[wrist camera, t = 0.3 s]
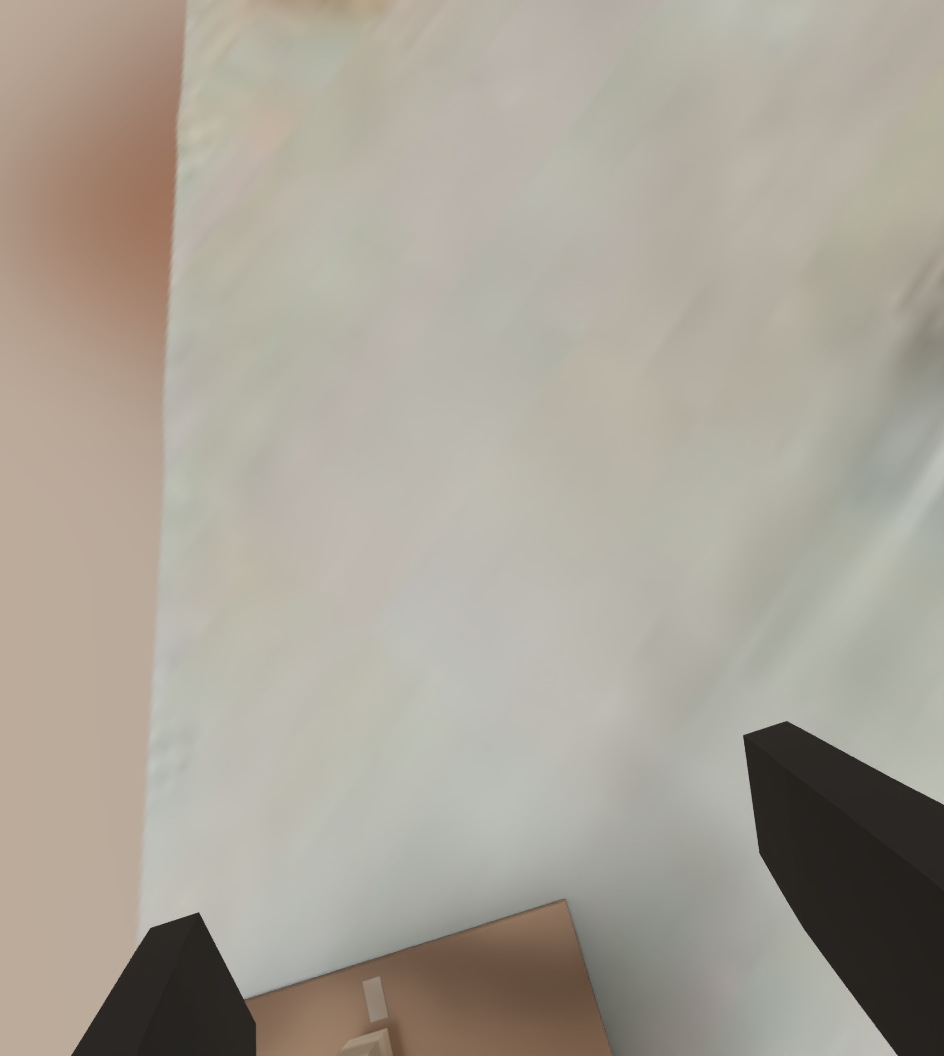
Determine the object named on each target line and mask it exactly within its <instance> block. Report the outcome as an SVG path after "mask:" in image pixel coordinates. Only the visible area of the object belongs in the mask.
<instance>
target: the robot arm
mask: <svg viewBox="0 0 944 1056" xmlns="http://www.w3.org/2000/svg"><path fill="white" fill-rule="evenodd" d="M743 738H744V745H745V752H746V759H747V767H748V774H749V781H750V788H751V795H752V802H753V810H754V817H755V824H756V831H757V838H758V846H759V853H760V855H761V857H762V859H763V860H764V862H765V864H766V866H767V867H768V869H769V871H770V872H771V874H772V876H773V878H774V879H775V881H776V883H777V885H778V886H779V888H780V890H781V892H782V893H783V895H784V897H785V898H786V900H787V902H788V903H789V905H790V907H791V908H792V910H793V912H794V913H795V915H796V917H797V918H798V920H799V922H800V923H801V925H802V927H803V928H804V930H805V931H806V932H807V934H808V935H809V936H810V938H811V939H812V941H813V942H814V943H815V945H816V946H817V948H818V949H819V950H820V952H821V953H822V954H823V956H824V957H825V958H826V960H827V961H828V962H829V964H830V965H831V967H832V968H833V969H834V971H835V972H836V973H837V975H838V976H839V977H840V979H841V980H842V981H843V983H844V984H845V986H846V987H847V988H848V990H849V991H850V992H851V994H852V995H853V996H854V998H855V999H856V1000H857V1002H858V1003H859V1004H860V1006H861V1007H862V1008H863V1010H864V1011H865V1012H866V1014H867V1015H868V1016H869V1018H870V1019H871V1020H872V1022H873V1023H874V1024H875V1026H876V1027H877V1028H878V1030H879V1031H880V1032H881V1034H882V1035H883V1036H884V1038H885V1039H886V1040H887V1042H888V1043H889V1044H890V1046H891V1047H892V1049H893V1050H894V1051H895V1053H896V1054H897V1055H898V1056H944V805H943V804H941V803H939V802H938V801H936V800H934V799H932V798H930V797H928V796H926V795H924V794H922V793H920V792H918V791H916V790H914V789H912V788H910V787H908V786H906V785H904V784H902V783H901V782H899V781H897V780H895V779H893V778H891V777H889V776H887V775H885V774H884V773H882V772H880V771H878V770H876V769H874V768H872V767H871V766H869V765H867V764H865V763H863V762H861V761H859V760H858V759H856V758H854V757H852V756H850V755H848V754H847V753H845V752H843V751H841V750H839V749H837V748H836V747H834V746H832V745H830V744H828V743H826V742H825V741H823V740H821V739H819V738H817V737H816V736H814V735H812V734H810V733H808V732H806V731H804V730H803V729H801V728H799V727H797V726H795V725H793V724H791V723H789V722H788V721H786V722H782V723H779V724H776V725H773V726H770V727H767V728H764V729H761V730H758V731H755V732H752V733H749V734H746V735H743ZM71 1056H256V1022H255V1021H254V1019H253V1017H252V1015H251V1013H250V1011H249V1009H248V1007H247V1005H246V1003H245V1001H244V999H243V997H242V995H241V993H240V991H239V989H238V987H237V986H236V984H235V982H234V980H233V978H232V976H231V974H230V972H229V970H228V968H227V966H226V964H225V962H224V960H223V958H222V956H221V954H220V952H219V950H218V949H217V947H216V945H215V943H214V941H213V939H212V937H211V935H210V933H209V931H208V929H207V927H206V925H205V923H204V921H203V919H202V917H201V915H200V914H199V912H198V913H195V914H192V915H189V916H186V917H183V918H180V919H177V920H174V921H171V922H168V923H165V924H162V925H158V926H155V927H152V928H150V930H149V931H148V933H147V934H146V936H145V937H144V939H143V940H142V942H141V944H140V945H139V947H138V948H137V950H136V951H135V953H134V955H133V956H132V958H131V959H130V961H129V963H128V964H127V966H126V968H125V969H124V971H123V973H122V974H121V976H120V977H119V979H118V981H117V983H116V984H115V986H114V987H113V989H112V990H111V992H110V994H109V995H108V997H107V999H106V1000H105V1002H104V1004H103V1005H102V1007H101V1009H100V1010H99V1012H98V1013H97V1015H96V1017H95V1018H94V1020H93V1021H92V1023H91V1025H90V1026H89V1028H88V1030H87V1031H86V1033H85V1034H84V1036H83V1038H82V1040H81V1041H80V1042H79V1044H78V1046H77V1047H76V1049H75V1051H74V1052H73V1054H72V1055H71Z"/></svg>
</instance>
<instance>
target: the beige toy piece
mask: <svg viewBox="0 0 944 1056" xmlns="http://www.w3.org/2000/svg"><path fill="white" fill-rule="evenodd" d="M336 1056H393V1052H392V1048H391V1043H390V1038H389V1033H388V1029H387V1028H385V1029H382V1030H379V1031H376V1032H372V1033H369V1034H366V1035H363V1036H360V1037H357V1038H354V1039H350V1040H349V1041H348V1042H347V1043H346V1044H345V1045H344V1047H343V1048H342V1049H341V1050H340V1051H339V1052H338V1054H337V1055H336Z"/></svg>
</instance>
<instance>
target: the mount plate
mask: <svg viewBox="0 0 944 1056" xmlns="http://www.w3.org/2000/svg"><path fill="white" fill-rule="evenodd" d="M244 1001H245V1003H246V1005H247V1007H248V1009H249V1011H250V1013H251V1015H252V1017H253V1019H254V1021H255V1022H256V1056H336V1055H337V1054H338V1052H339V1051H340V1050H341V1049H342V1048H343V1047H344V1045H345V1044H346V1043H347V1042H348V1041H349V1040H350V1039H354V1038H357V1037H360V1036H363V1035H366V1034H369V1033H372V1032H376V1031H379V1030H382V1029H385V1028H387V1029H388V1033H389V1038H390V1043H391V1048H392V1052H393V1056H612V1053H611V1049H610V1046H609V1043H608V1039H607V1036H606V1033H605V1029H604V1026H603V1023H602V1019H601V1016H600V1013H599V1010H598V1006H597V1003H596V1000H595V996H594V993H593V990H592V986H591V983H590V980H589V977H588V973H587V970H586V967H585V963H584V960H583V957H582V953H581V950H580V947H579V943H578V940H577V937H576V934H575V930H574V927H573V924H572V920H571V917H570V914H569V910H568V907H567V904H566V901H565V899H563V900H559V901H556V902H553V903H550V904H547V905H544V906H540V907H537V908H534V909H531V910H528V911H525V912H521V913H518V914H515V915H512V916H509V917H506V918H502V919H499V920H496V921H493V922H490V923H487V924H483V925H480V926H477V927H474V928H471V929H468V930H464V931H461V932H458V933H455V934H452V935H449V936H445V937H442V938H439V939H436V940H433V941H430V942H426V943H423V944H420V945H417V946H414V947H411V948H407V949H404V950H401V951H398V952H395V953H392V954H388V955H385V956H382V957H379V958H376V959H373V960H369V961H366V962H363V963H360V964H357V965H354V966H351V967H347V968H344V969H341V970H338V971H335V972H332V973H328V974H325V975H322V976H319V977H316V978H313V979H309V980H306V981H303V982H300V983H297V984H294V985H290V986H287V987H284V988H281V989H278V990H275V991H271V992H268V993H265V994H262V995H259V996H256V997H252V998H249V999H246V1000H244Z"/></svg>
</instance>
